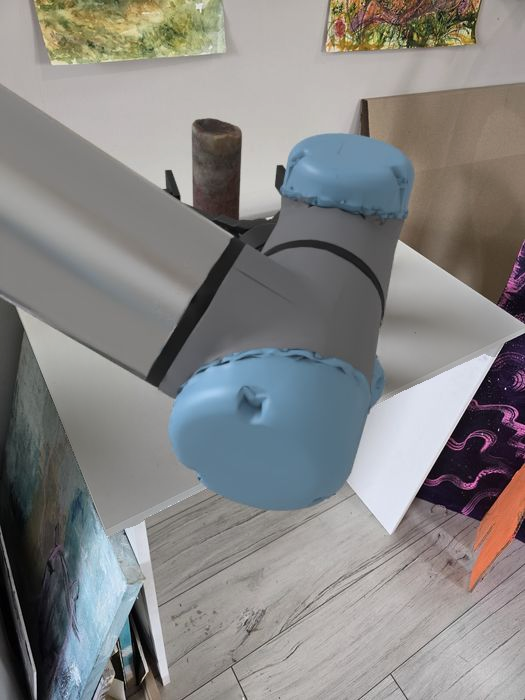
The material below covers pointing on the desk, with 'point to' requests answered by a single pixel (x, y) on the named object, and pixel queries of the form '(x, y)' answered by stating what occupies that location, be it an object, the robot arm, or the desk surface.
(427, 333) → the desk surface
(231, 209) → the candle
